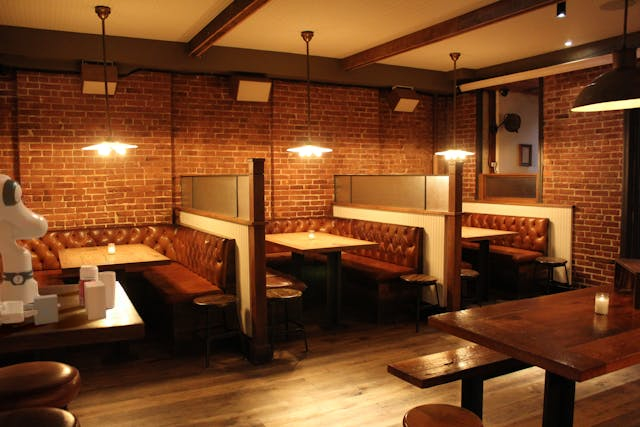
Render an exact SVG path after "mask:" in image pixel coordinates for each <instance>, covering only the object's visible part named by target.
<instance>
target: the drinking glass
mask: <svg viewBox="0 0 640 427" xmlns="http://www.w3.org/2000/svg"><path fill="white" fill-rule="evenodd" d="M116 277H117V276H116V272H115V271H102V272H98V281H102V282H103V284H104V285H105V298H106V310H109V309H113V308H115V306H116V302H115V300H116V286H117V285H116V283H117V281H116V280H117V279H116Z"/></svg>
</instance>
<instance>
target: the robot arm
mask: <svg viewBox="0 0 640 427" xmlns="http://www.w3.org/2000/svg"><path fill="white" fill-rule="evenodd" d="M22 194H23V190H22V186H21V183H19V182H18V181H17V180H14V179H12V178H11V177H10V176H9V175H7V174H3V173H0V255H1V259H2V269H3V270H2V275H1V277H2V282H1V283H0V326H2V324H13V323H14V324H16V323H17V324H18V323H22V322H24V321H25V318H29V317H31V316H34V315H37V314H38V310H34V297H36V296H42V295H40V294H39V288H38V285H39V284H38V281H36V280H35V279H34V270H33V265H32V254H31V251H30V250H28V248H26V247H23V246H20V245H19V244H18V243H17V240H33V239H39V238H42V237H44V236H45V235H46V234H47V232H48V228H49V223H48V221H47V219H46V218H45V217H44V216H43V215H41V214H39V213H36V212H33V211H32V210H31V209H29V208H28V207H27V206H26V205H25V204H24V203H23V200H22Z"/></svg>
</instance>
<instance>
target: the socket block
mask: <svg viewBox="0 0 640 427" xmlns="http://www.w3.org/2000/svg"><path fill="white" fill-rule="evenodd" d="M84 290H85V307H84V310H85V311H84V312H85V315H86V316H87V319H88V321H92V320H100V319H101V320H102V319H107V309H106V298H105V285H104V284H103V282H102V281H99V280H98V281H92V282H84Z"/></svg>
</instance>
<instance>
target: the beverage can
mask: <svg viewBox="0 0 640 427" xmlns="http://www.w3.org/2000/svg"><path fill="white" fill-rule="evenodd" d="M98 274H99V268H98V266H97V264H84V265H81V266H80V268H79V279H80V278H83V277H94V279H95V281H99V280H98Z"/></svg>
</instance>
